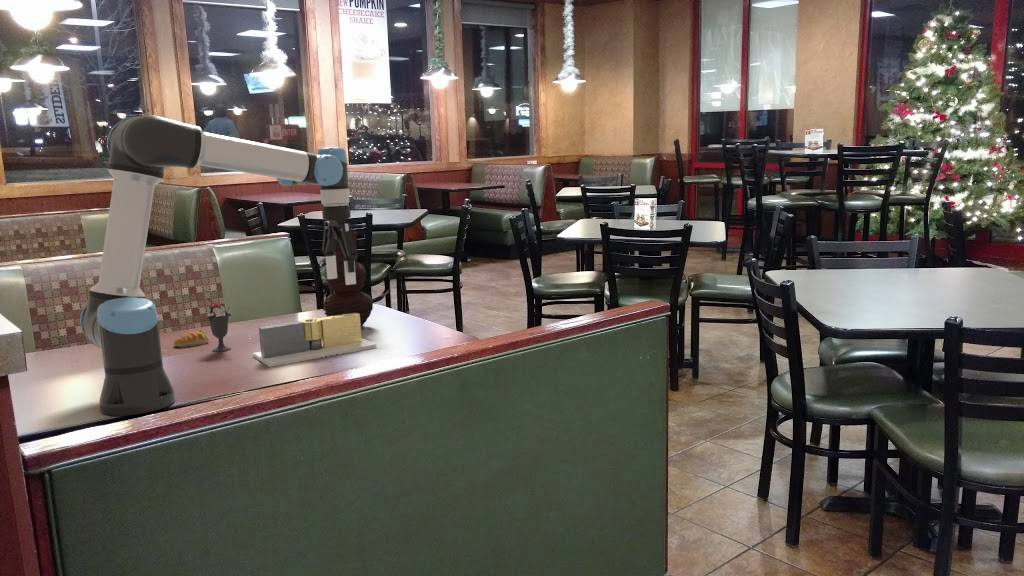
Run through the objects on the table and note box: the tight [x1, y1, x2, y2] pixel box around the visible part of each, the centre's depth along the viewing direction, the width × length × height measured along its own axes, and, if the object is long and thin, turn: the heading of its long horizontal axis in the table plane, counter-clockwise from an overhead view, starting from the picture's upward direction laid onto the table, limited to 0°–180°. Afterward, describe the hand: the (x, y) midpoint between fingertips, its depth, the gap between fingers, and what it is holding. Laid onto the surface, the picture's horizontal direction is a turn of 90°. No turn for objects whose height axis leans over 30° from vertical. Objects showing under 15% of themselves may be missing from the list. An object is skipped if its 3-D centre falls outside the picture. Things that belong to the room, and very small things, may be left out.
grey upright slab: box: [258, 319, 322, 358], centre depth 214 cm, size 16×4×8 cm, turn 124°
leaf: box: [300, 313, 362, 348], centre depth 220 cm, size 16×5×8 cm, turn 124°
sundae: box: [205, 298, 232, 353], centre depth 223 cm, size 7×7×15 cm
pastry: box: [173, 329, 210, 348], centre depth 233 cm, size 9×7×4 cm
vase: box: [322, 230, 374, 329], centre depth 244 cm, size 15×15×30 cm
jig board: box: [252, 337, 377, 368], centre depth 218 cm, size 30×14×1 cm, turn 124°
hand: (341, 281), depth 220 cm, fingers open, 13 cm apart
